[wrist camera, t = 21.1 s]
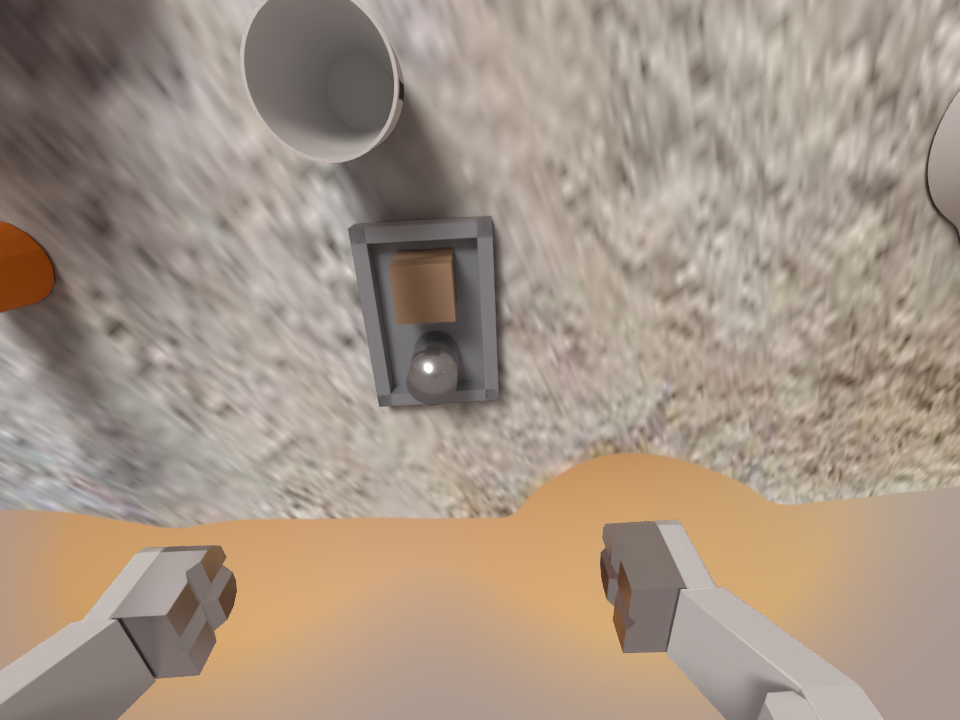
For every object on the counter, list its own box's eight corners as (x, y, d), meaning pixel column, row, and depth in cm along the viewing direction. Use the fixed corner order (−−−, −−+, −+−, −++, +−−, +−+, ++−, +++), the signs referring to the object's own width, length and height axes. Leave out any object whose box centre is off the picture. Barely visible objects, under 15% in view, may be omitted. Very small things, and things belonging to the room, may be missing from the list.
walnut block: (453, 247, 37) (451, 263, 33) (457, 300, 39) (455, 321, 35) (398, 250, 37) (388, 266, 33) (405, 303, 39) (396, 324, 35)
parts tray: (490, 215, 37) (492, 220, 35) (497, 388, 44) (498, 400, 42) (354, 223, 37) (348, 228, 35) (383, 394, 44) (379, 406, 42)
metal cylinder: (460, 369, 42) (458, 403, 37) (417, 371, 42) (409, 406, 37) (456, 329, 41) (454, 359, 35) (412, 332, 41) (403, 362, 35)
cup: (437, 120, 34) (426, 116, 25) (346, 175, 35) (304, 189, 26) (377, -1, 30) (338, -57, 21) (279, 64, 32) (205, 38, 23)
